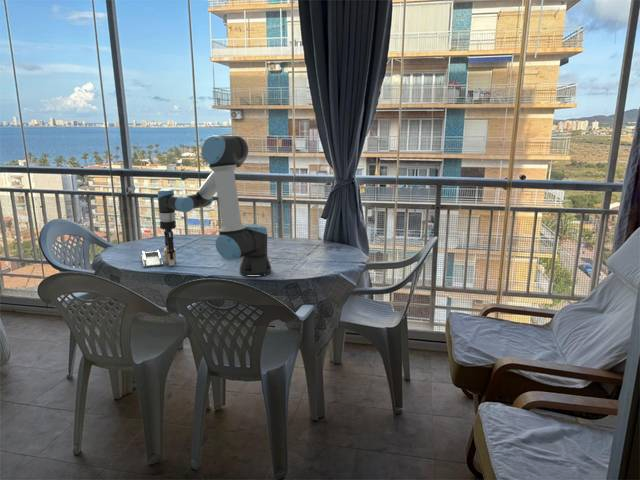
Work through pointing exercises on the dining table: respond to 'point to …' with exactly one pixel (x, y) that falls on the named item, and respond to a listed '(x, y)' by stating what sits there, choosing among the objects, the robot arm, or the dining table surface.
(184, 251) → the dining table surface
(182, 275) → the dining table surface
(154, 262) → the white tray
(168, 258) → the module
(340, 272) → the dining table surface
